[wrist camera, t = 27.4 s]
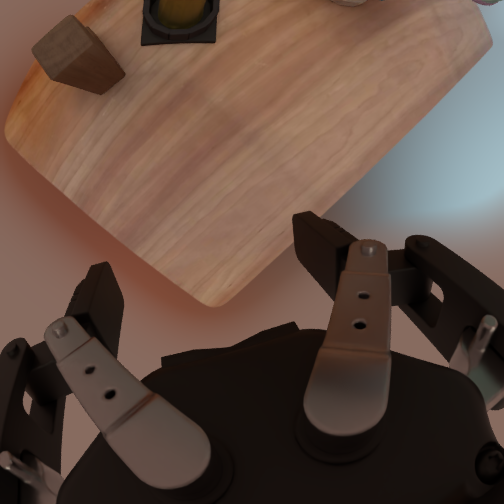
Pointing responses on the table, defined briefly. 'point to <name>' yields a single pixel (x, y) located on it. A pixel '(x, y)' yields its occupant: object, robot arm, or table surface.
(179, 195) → the table surface
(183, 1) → the vase
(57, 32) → the wooden block
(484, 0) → the table lamp
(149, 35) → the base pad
